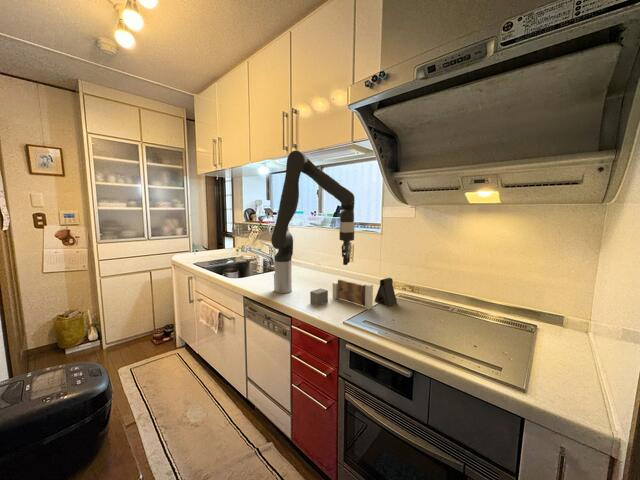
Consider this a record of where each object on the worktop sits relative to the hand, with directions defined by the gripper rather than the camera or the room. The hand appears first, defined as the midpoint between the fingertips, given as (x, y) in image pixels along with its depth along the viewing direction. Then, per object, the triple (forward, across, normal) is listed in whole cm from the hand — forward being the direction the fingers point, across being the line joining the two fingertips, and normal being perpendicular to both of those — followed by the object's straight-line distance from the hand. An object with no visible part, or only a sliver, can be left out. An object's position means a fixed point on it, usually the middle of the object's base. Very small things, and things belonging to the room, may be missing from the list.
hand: (346, 263), depth 133 cm
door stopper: (+18, +4, +20) cm, 27 cm away
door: (+17, +9, +4) cm, 20 cm away
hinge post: (+17, +13, +13) cm, 26 cm away
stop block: (+18, +13, -11) cm, 24 cm away
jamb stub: (+17, +4, -4) cm, 18 cm away
